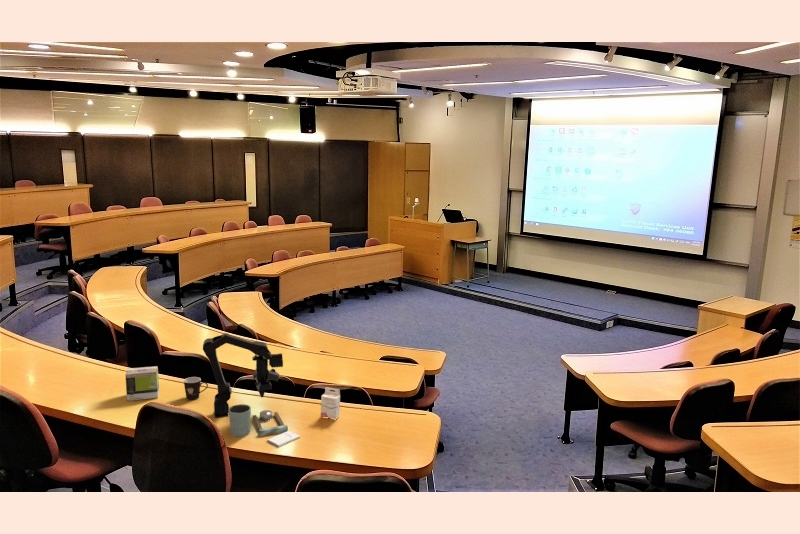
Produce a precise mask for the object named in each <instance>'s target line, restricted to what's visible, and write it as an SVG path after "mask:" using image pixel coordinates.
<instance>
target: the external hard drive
mask: <svg viewBox="0 0 800 534" xmlns="http://www.w3.org/2000/svg"><path fill="white" fill-rule="evenodd" d="M300 438H301V435H299V434H297V433H295V432H292V431H291V430H288V431H287V432H283V433H279V434H277V435H275V436H273V437H271V438H269V439H267V440H266V441H267V442H268V443H270V444H271V445H274V446H275V447H278V448H280V447H282V446H285V445H288V444H289V442H290V443H291V442H294V441H296V440H298V439H300Z"/></svg>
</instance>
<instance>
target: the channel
mask: <svg viewBox="0 0 800 534" xmlns="http://www.w3.org/2000/svg"><path fill="white" fill-rule="evenodd" d="M273 415H275V416H274V417H275V419H276V421H277V423H278V424H279V425H278V426H272V427H265V428H263V427H262V425H261V423H260V421H259V420H260V419H259V418H258V416H257V414H254V415H252V419H253V422H254V421H255V422H254V424H255V426H256V427H257V428H256V429H257V431H258V434H259V437H262V436H269V435H276V434H282V433H284V432H287V431H289V430H288V428H289V426H288V425H287V424H285V423H284V421H283V419H282V417H281V416H280V414H279V412H278V411H275V412H274V413H273Z"/></svg>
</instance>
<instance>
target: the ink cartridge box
mask: <svg viewBox="0 0 800 534" xmlns="http://www.w3.org/2000/svg"><path fill="white" fill-rule="evenodd" d="M324 390H325V391H324V393H323V394H322V395H321V398H320V399H321V401H320V418H321V417H328V418H334V419H336V418H337V417H338V416H339V415H340V413H341V412H340V411H341V391H340V389H339V388H333V387H324ZM339 417H340V416H339Z"/></svg>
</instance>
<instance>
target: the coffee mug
mask: <svg viewBox="0 0 800 534" xmlns="http://www.w3.org/2000/svg"><path fill="white" fill-rule="evenodd" d="M204 384H205V385H206V387H205V388H204V389H202V390H201V386H202V385H204ZM183 385H184V386H183V387H184V392H185V398H186V400H187V401H195V400H198V399H200V395H201V393H202V392H204V391H206V389H208V388H209V384H208V382H205V381H203V382H202V379H201V377H197V376H191V377H187V378H186V377H185V379H183Z"/></svg>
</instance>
